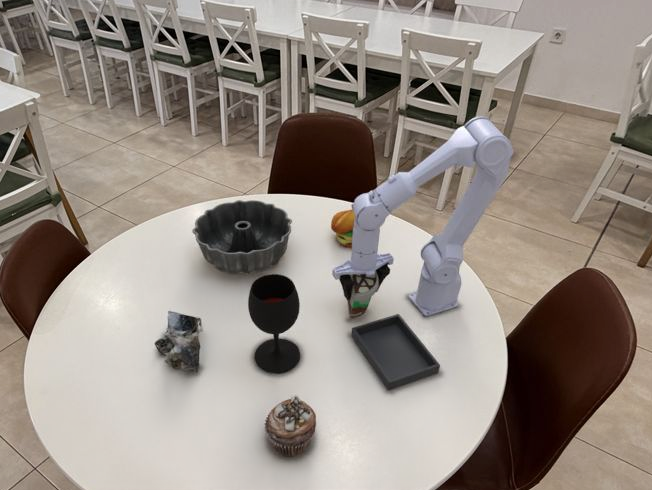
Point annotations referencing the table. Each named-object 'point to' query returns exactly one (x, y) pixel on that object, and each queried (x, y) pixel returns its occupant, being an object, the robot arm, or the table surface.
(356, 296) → the food container
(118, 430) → the table surface
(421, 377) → the dark gray tray
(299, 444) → the cupcake
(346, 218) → the cheeseburger
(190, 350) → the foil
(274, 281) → the wine glass
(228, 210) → the bundt pan
